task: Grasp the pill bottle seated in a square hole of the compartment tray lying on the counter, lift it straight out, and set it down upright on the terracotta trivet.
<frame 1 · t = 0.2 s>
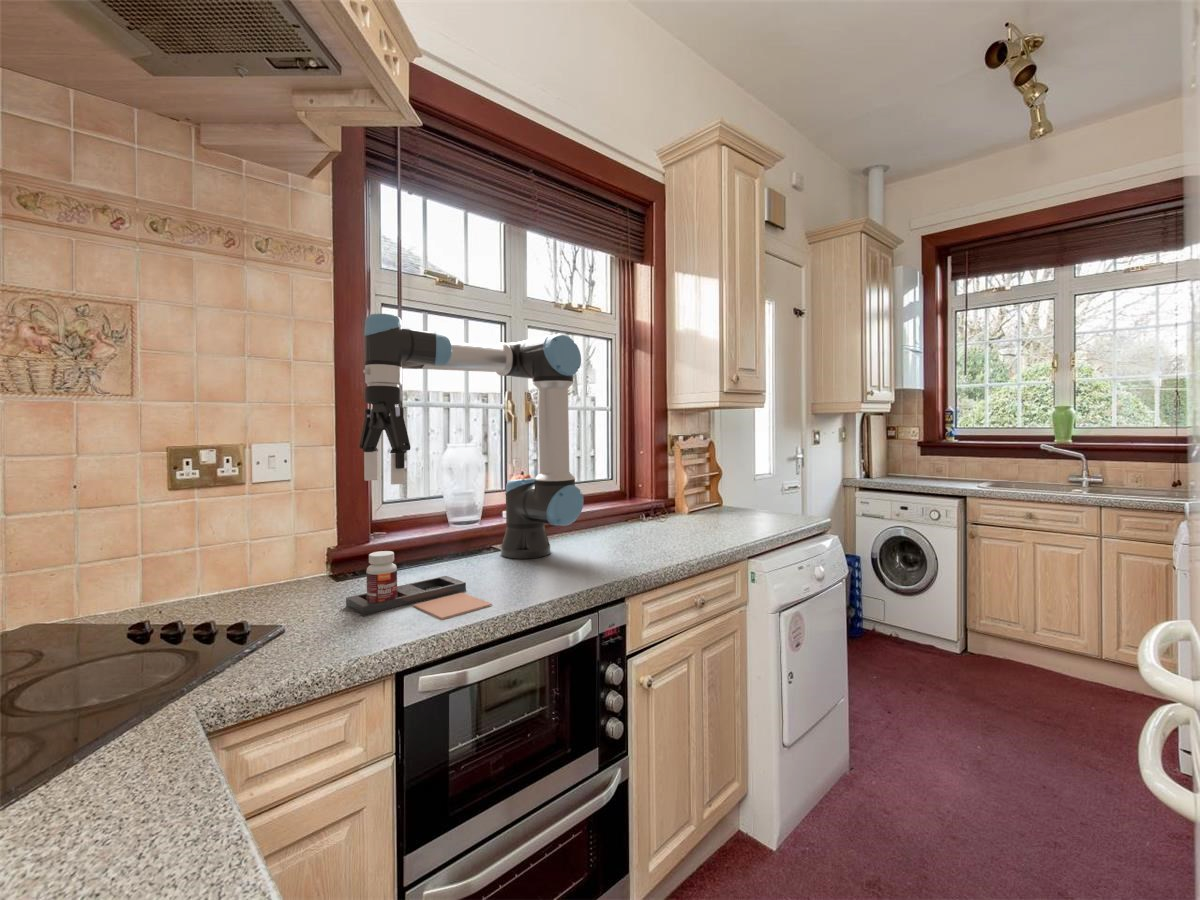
hand: (383, 482, 120), 27 cm above the countertop, fingers open, 13 cm apart
compartment tray: (408, 598, 122), on the countertop
pill bottle: (382, 605, 118), resting in compartment tray
trivet: (452, 606, 117), on the countertop
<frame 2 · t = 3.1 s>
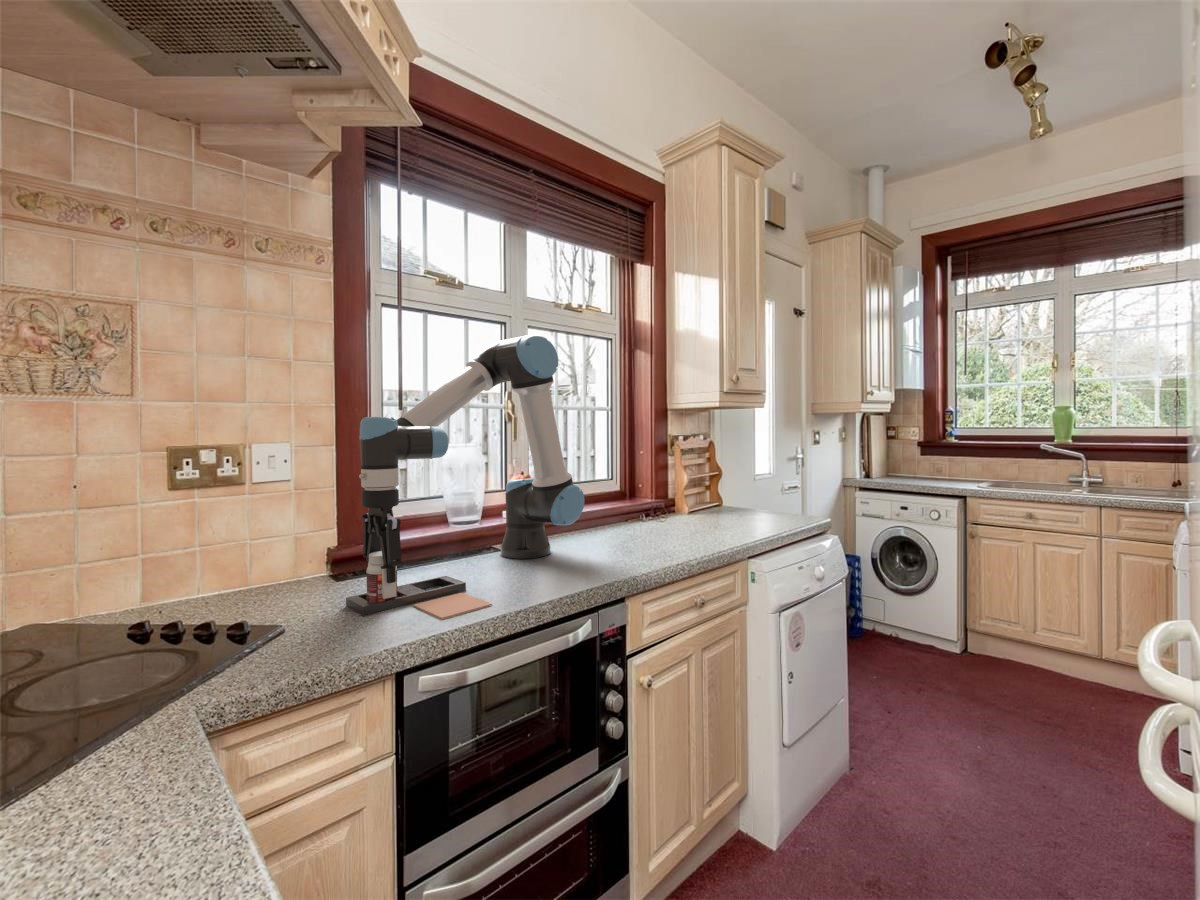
hand: (382, 593, 118), 2 cm above the countertop, fingers closed on pill bottle, 6 cm apart
pill bottle: (382, 605, 118), resting in compartment tray, touching gripper
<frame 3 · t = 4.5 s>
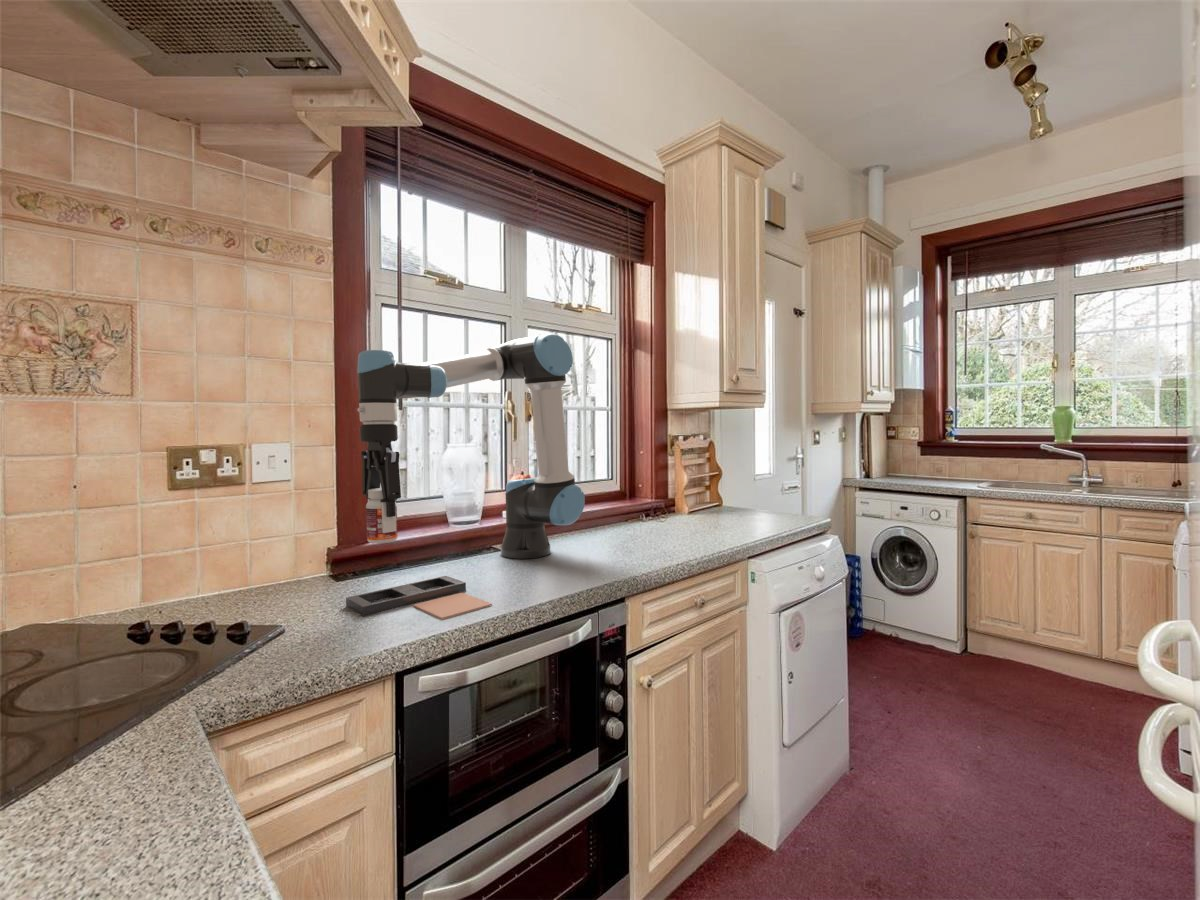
hand: (382, 529, 118), 16 cm above the countertop, fingers closed on pill bottle, 6 cm apart
pill bottle: (382, 541, 118), point 14 cm above the countertop, touching gripper
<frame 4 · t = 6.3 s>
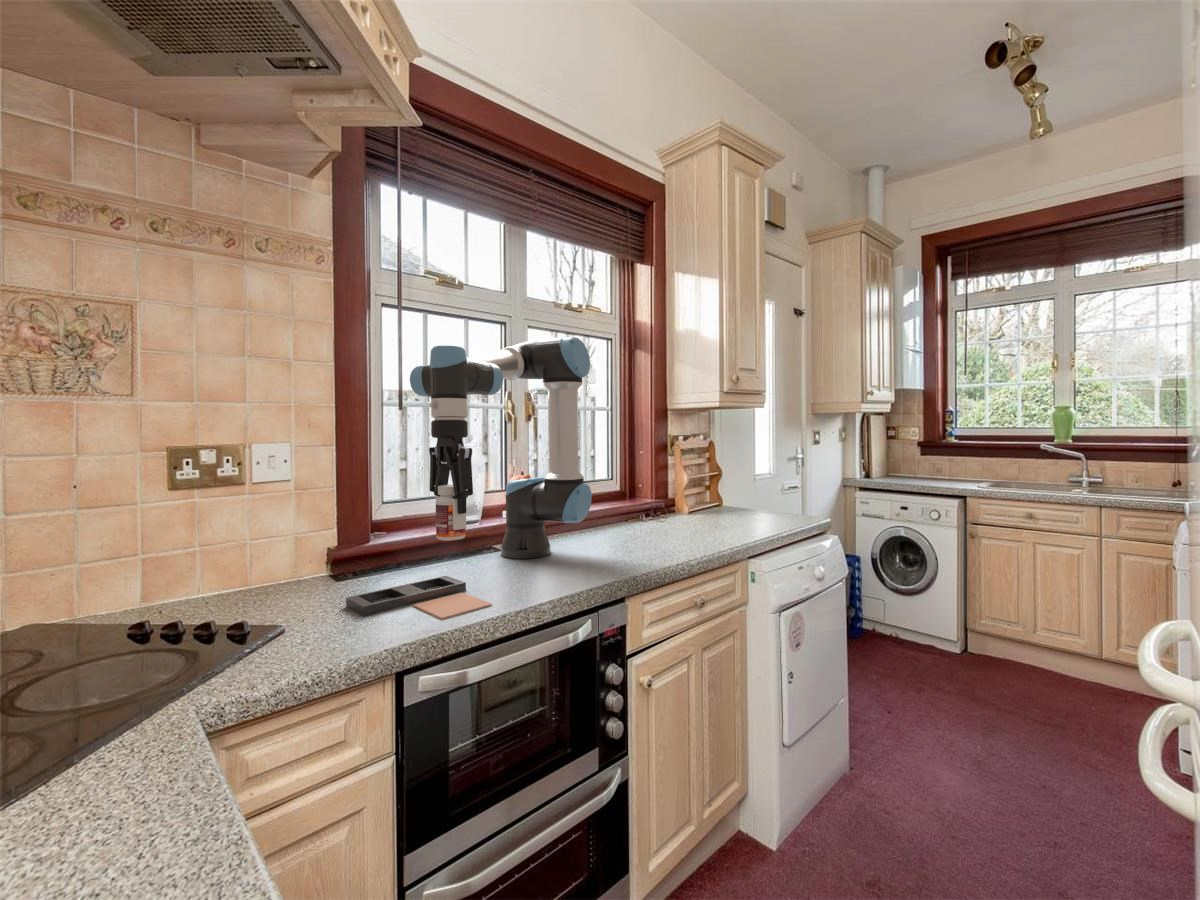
hand: (451, 526, 116), 17 cm above the countertop, fingers closed on pill bottle, 6 cm apart
pill bottle: (451, 539, 116), point 15 cm above the countertop, touching gripper
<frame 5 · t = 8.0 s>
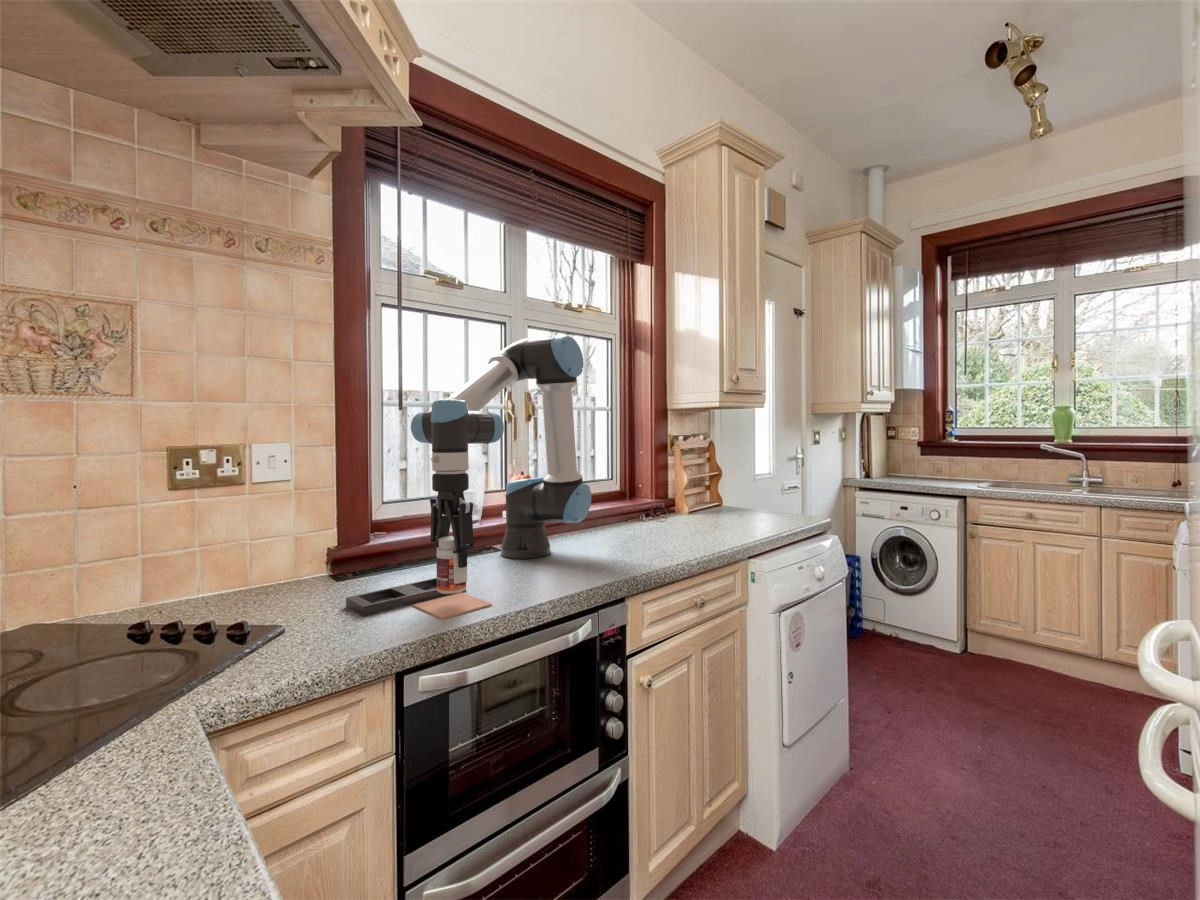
hand: (451, 579, 117), 6 cm above the countertop, fingers closed on pill bottle, 6 cm apart
pill bottle: (451, 591, 117), point 3 cm above the countertop, touching gripper
when the fingers open (3 cm above the countertop, at t = 9.4 s): pill bottle stays where it is, resting on trivet.
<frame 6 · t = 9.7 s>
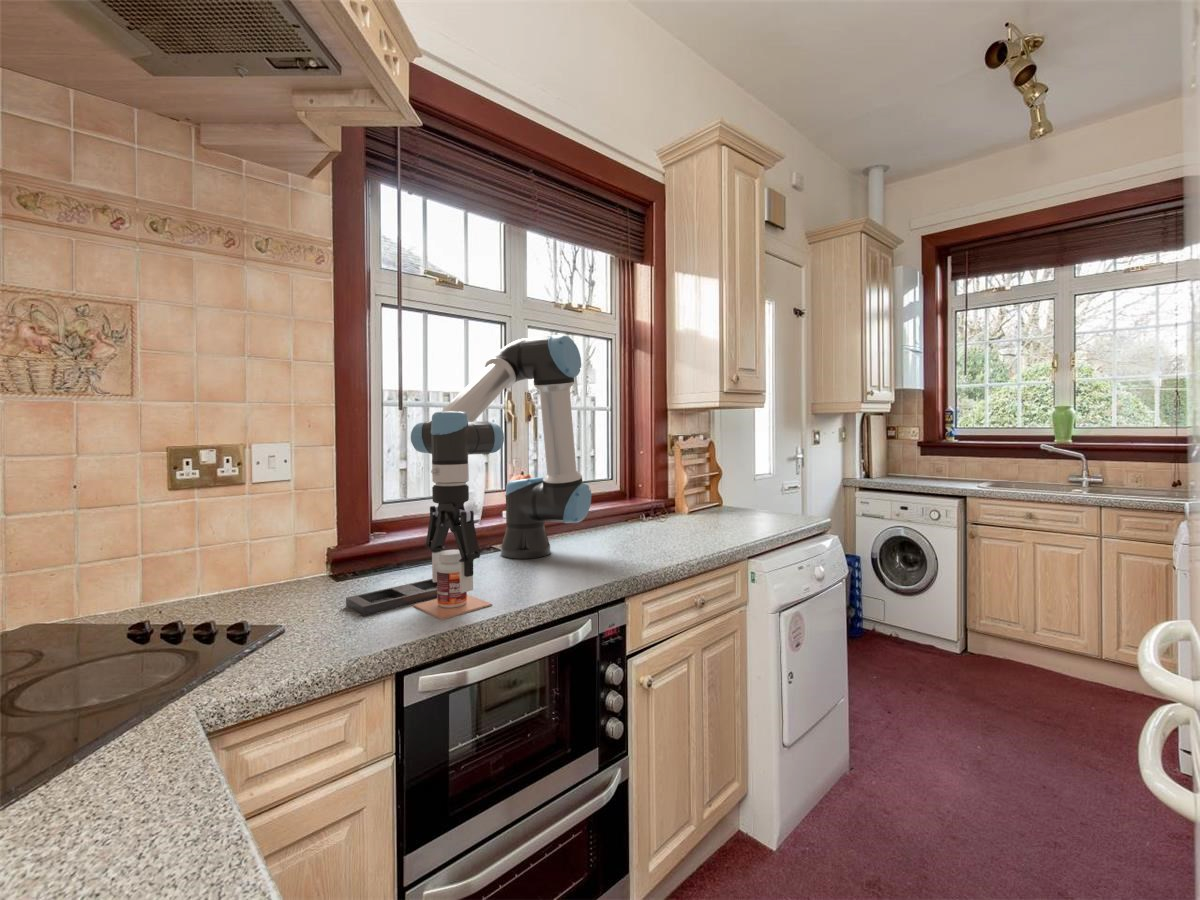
hand: (452, 585, 117), 4 cm above the countertop, fingers open, 10 cm apart
pill bottle: (452, 604, 117), resting on trivet
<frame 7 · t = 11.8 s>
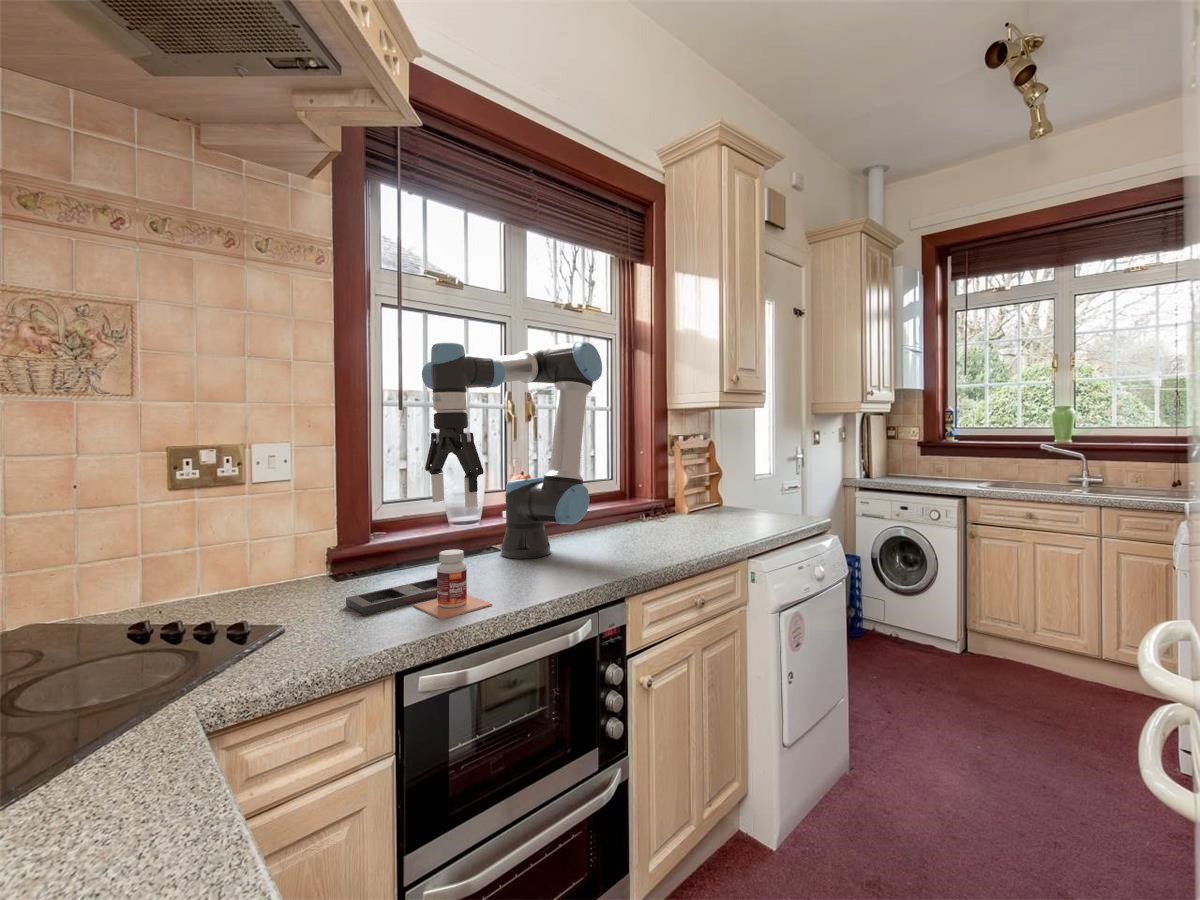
hand: (454, 503, 125), 21 cm above the countertop, fingers open, 13 cm apart
nothing on the countertop moved.
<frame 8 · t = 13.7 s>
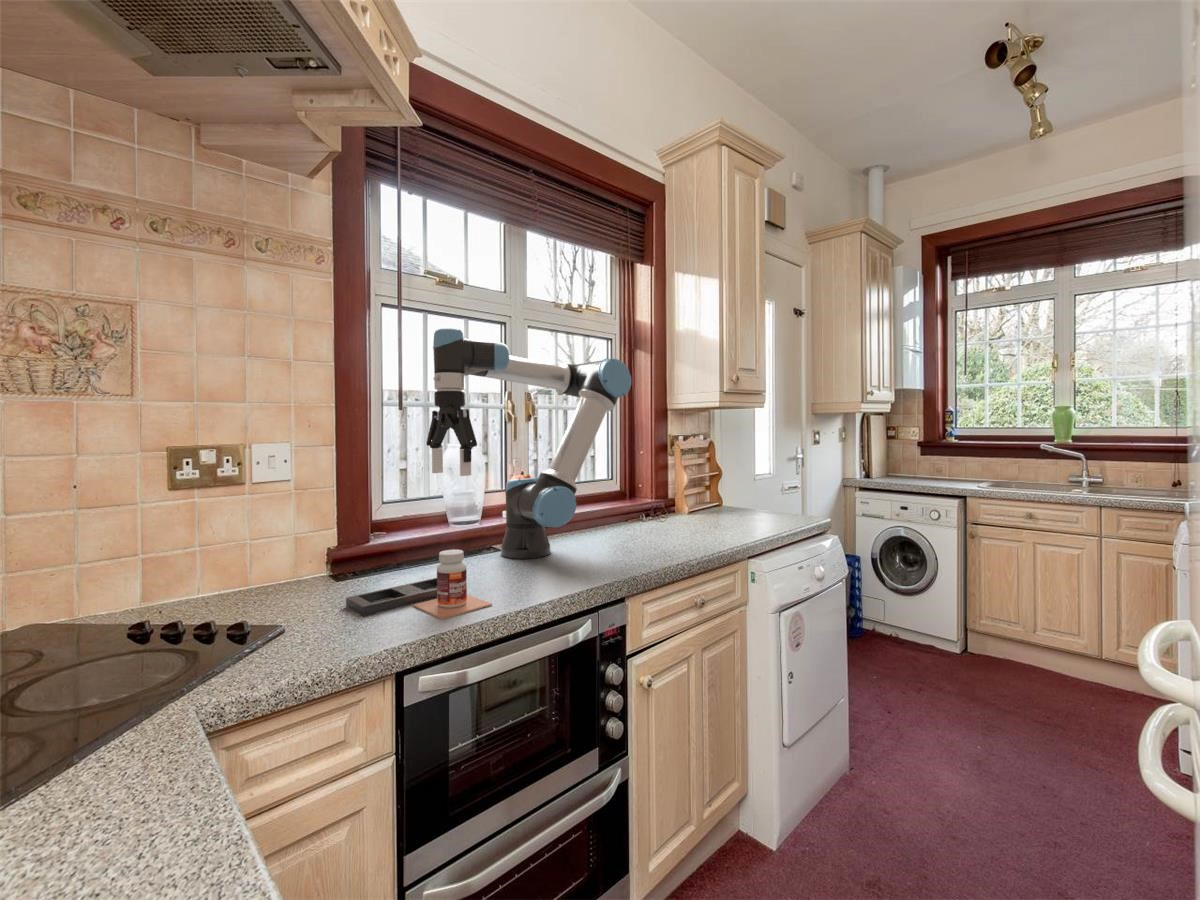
hand: (451, 474, 138), 27 cm above the countertop, fingers open, 13 cm apart
nothing on the countertop moved.
at the end: pill bottle inside the target area on the trivet (0.1 cm from its centre), point 0.2 cm above the trivet's base; pill bottle tilted 0°; the gripper is holding nothing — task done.
